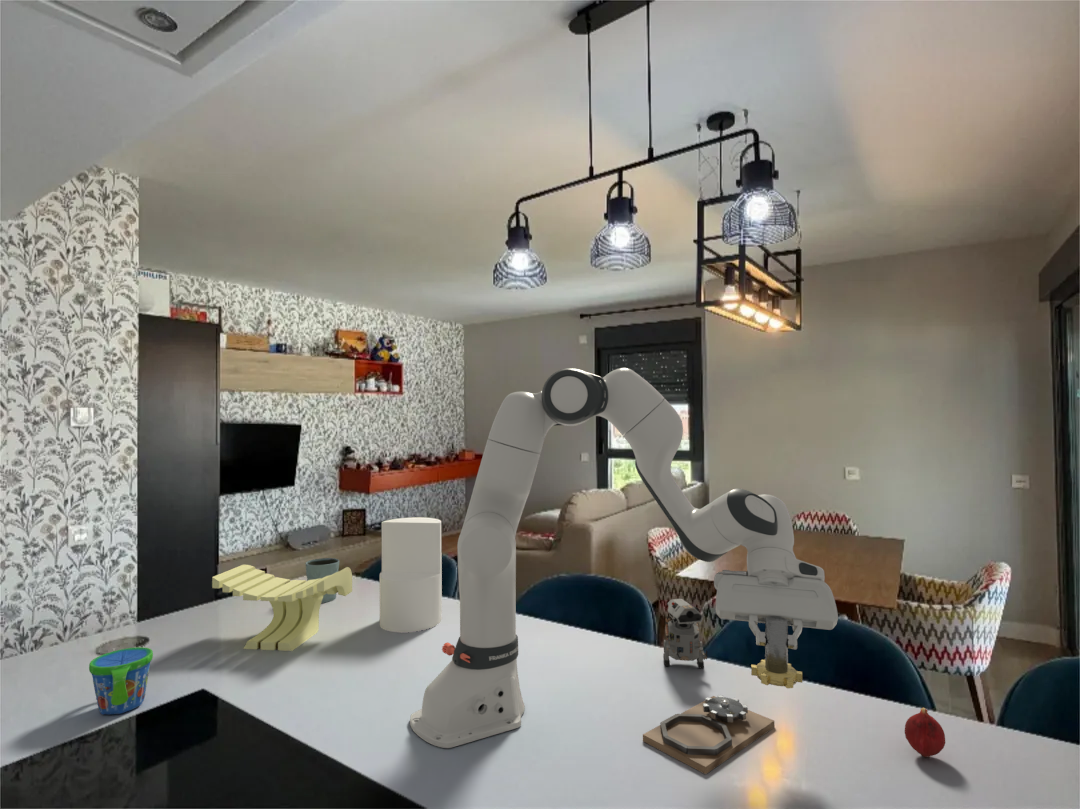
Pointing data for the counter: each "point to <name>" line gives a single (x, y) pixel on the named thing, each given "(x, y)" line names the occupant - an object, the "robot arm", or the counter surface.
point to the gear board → (705, 737)
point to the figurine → (683, 633)
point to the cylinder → (411, 574)
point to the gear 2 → (776, 656)
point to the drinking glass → (322, 572)
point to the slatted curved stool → (284, 603)
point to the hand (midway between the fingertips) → (776, 645)
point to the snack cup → (121, 679)
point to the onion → (924, 734)
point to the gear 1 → (725, 708)
